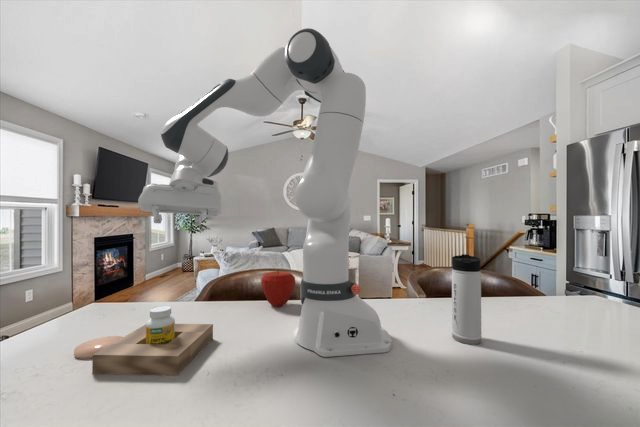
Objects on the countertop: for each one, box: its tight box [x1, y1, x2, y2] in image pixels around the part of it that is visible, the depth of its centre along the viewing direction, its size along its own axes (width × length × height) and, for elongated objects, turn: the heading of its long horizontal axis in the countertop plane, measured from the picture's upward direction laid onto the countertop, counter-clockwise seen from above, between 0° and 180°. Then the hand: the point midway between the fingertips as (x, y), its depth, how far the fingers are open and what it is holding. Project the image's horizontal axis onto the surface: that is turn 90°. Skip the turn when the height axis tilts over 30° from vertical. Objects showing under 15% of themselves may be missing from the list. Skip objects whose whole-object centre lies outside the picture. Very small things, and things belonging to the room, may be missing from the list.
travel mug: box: [451, 253, 482, 345], centre depth 69 cm, size 6×7×20 cm
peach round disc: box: [73, 335, 124, 360], centre depth 63 cm, size 9×9×1 cm
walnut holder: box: [91, 323, 214, 376], centre depth 60 cm, size 16×16×4 cm
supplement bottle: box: [146, 305, 176, 344], centre depth 60 cm, size 5×5×10 cm
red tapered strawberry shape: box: [260, 269, 296, 308], centre depth 95 cm, size 11×11×12 cm
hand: (177, 223), depth 73 cm, fingers open, 8 cm apart
